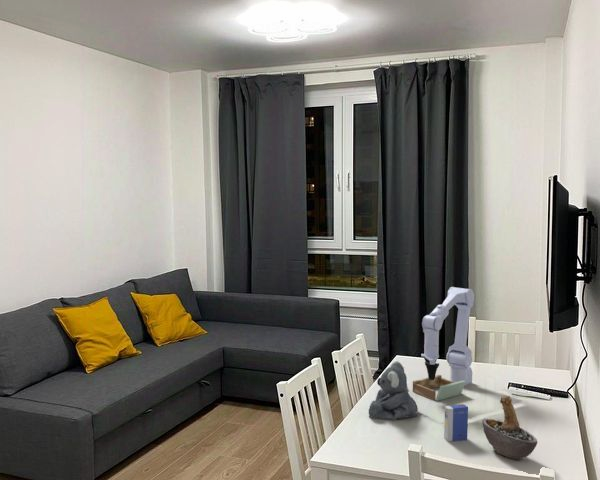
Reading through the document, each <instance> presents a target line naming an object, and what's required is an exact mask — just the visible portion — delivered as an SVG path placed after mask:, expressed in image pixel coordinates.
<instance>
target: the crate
mask: <svg viewBox="0 0 600 480" xmlns="http://www.w3.org/2000/svg"><path fill="white" fill-rule="evenodd" d="M451 383H454V382H452V381H450V379H446V378H443V377H442V375H441V374H436V375H435V379H434V380H429V377H428V376H427V377H425V378H421V379H417V380H412V392H413V393H414V394H417V395H420V396H422V397H424V398H427V399H429V400H431V401H435V400H436V397H437V394H436V390H434V388H438V387H439V388H440V386H443V385H447V384H451Z"/></svg>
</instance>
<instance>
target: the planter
mask: <svg viewBox="0 0 600 480" xmlns="http://www.w3.org/2000/svg"><path fill="white" fill-rule="evenodd" d="M499 403H500V404H501V405H502V410H503V414H504V415H503V416H504V419H503V421H501V420H496V419H491V418H482V420H481V422H482V428H483V432H484V435H485V437H486V439H487V441H488V443H489V444H490V445H491V446H492V449H493V450H494V451H495V452H496V453H498V454H500V456H503V457H506V458H508V459H512V460H519V461H520V460H523V458H524V459H525V458H527V457H529V456H530V455H531V454H532V453H533V452H534V450H535V448H536V447H537V445H538V442H539V441H538V439H537V438H536V437H535V436H534V435H533V434H532V433H530V432H529V431H527V430H525V429H523V428H522V427H520V423H519V420H518V418H517V417H518V416H517V412H516V410H515V407H514V405H513V402H512V399H511V397H510V395H507V394H506V395H503V396H501V398H500V399H499Z"/></svg>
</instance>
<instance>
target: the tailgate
mask: <svg viewBox="0 0 600 480" xmlns="http://www.w3.org/2000/svg"><path fill="white" fill-rule="evenodd" d="M465 382H466V381H464V380H462V381H458V382H454V383H451V384H447V385H443V386H439V389H438V391H437V394H436V398H435V400H436V401H441V400H445V399H448V398H452V397H455V396H460V395H462V393H463V391H464V387H465V386H466V385H465ZM464 385H465V386H464Z"/></svg>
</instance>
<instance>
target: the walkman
mask: <svg viewBox="0 0 600 480" xmlns="http://www.w3.org/2000/svg"><path fill="white" fill-rule="evenodd" d="M443 422H444V425H443V427H444V428H443V429H444V434H443V438H444V440H445V441H446V442H454V441H455V442H456V441H463V440H468V431H469V430H468V429H469V428H468V427H469V426H468V423H469V407H468V406H467V405H466V404H465V403H459V404H455V405H453V404H452V405H446V406H445V405H444V421H443Z"/></svg>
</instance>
